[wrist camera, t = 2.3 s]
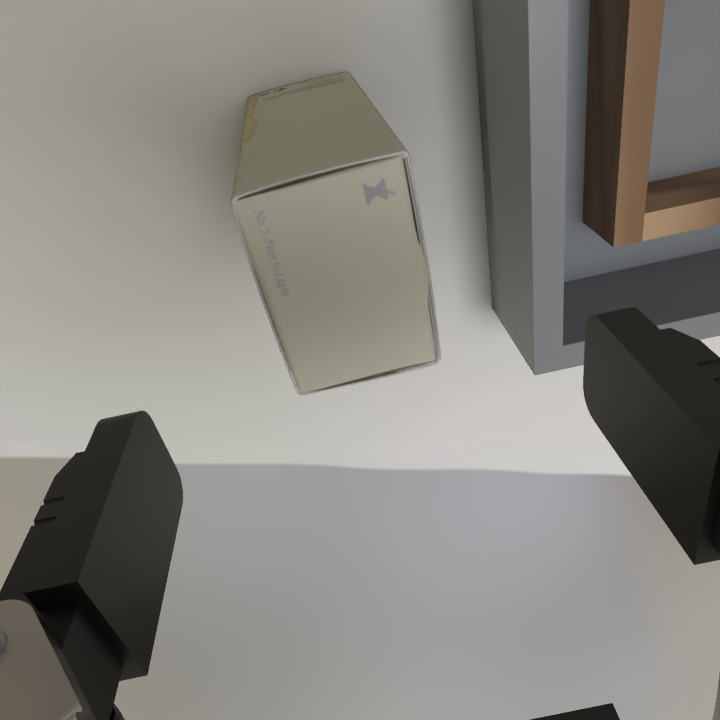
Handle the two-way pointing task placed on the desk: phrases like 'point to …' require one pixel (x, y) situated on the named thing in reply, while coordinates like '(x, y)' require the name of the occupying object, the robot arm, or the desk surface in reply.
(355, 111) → the skincare box
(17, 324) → the desk surface
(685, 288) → the open box
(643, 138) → the square socket
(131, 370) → the desk surface
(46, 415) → the desk surface
